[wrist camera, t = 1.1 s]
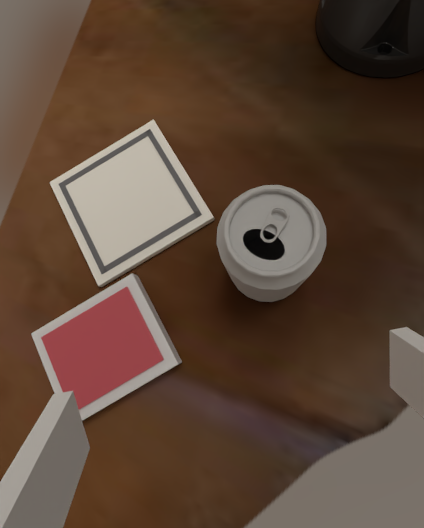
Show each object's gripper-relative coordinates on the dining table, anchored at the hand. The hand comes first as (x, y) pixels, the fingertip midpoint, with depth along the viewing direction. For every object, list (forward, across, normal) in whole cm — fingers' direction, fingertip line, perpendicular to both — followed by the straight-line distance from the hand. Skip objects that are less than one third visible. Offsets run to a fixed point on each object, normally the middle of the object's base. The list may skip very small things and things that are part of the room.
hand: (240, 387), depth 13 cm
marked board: (+26, -7, +8) cm, 27 cm away
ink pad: (+19, -11, -6) cm, 23 cm away
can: (+19, +6, -1) cm, 20 cm away
